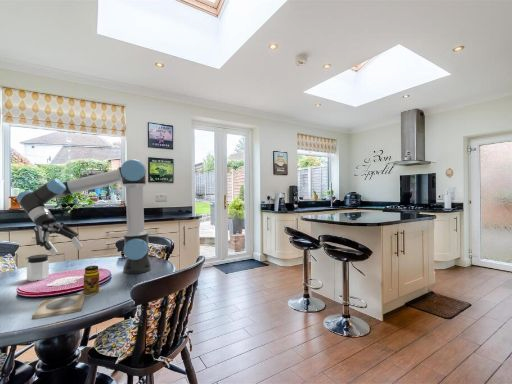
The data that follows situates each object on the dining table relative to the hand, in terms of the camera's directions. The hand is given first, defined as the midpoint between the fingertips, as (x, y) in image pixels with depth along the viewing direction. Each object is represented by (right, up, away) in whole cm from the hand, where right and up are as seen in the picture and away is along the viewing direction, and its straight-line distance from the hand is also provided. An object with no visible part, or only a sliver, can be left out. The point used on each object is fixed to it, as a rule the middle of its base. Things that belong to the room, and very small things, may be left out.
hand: (68, 251), depth 122 cm
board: (+9, -19, -17) cm, 27 cm away
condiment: (+11, -19, -1) cm, 22 cm away
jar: (-28, -18, +15) cm, 37 cm away
